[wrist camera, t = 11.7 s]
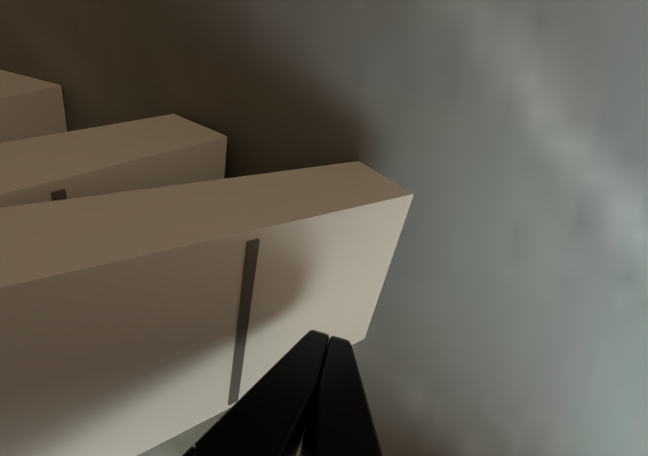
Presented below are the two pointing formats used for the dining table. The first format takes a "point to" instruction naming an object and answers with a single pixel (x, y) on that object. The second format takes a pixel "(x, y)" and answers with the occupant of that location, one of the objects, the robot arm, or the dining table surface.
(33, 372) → the domino
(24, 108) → the domino
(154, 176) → the domino
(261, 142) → the dining table surface
